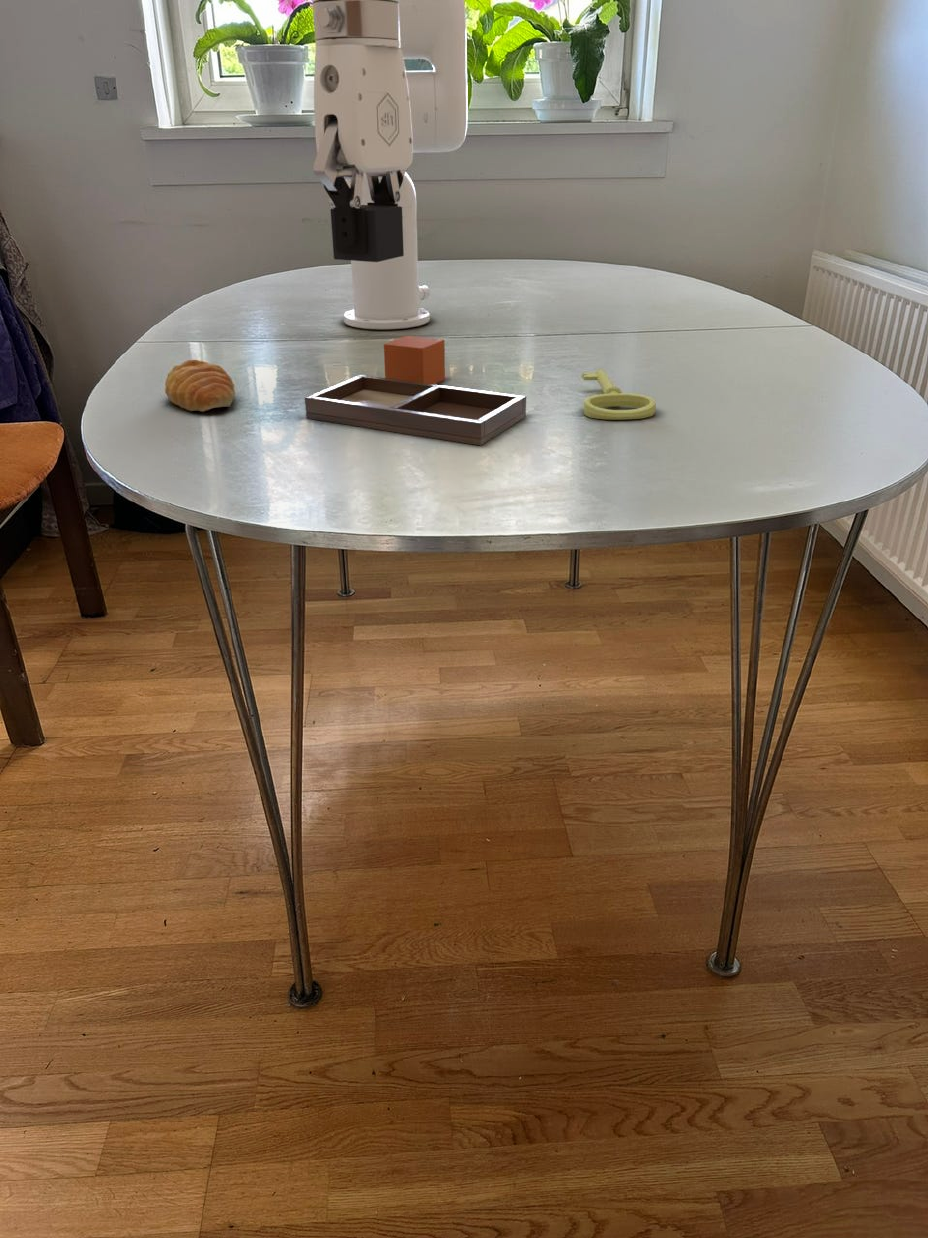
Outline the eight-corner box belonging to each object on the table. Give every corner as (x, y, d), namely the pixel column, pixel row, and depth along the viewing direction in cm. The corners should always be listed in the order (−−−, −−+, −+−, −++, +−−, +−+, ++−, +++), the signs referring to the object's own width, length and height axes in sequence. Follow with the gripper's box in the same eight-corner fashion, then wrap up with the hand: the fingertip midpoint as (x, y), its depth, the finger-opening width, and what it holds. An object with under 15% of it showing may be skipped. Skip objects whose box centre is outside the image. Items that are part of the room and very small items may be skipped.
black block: (361, 253, 93) (358, 204, 90) (404, 255, 91) (402, 206, 88) (333, 259, 89) (329, 208, 87) (377, 262, 87) (374, 210, 85)
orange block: (407, 374, 107) (406, 335, 105) (445, 379, 105) (444, 339, 103) (385, 384, 103) (383, 343, 101) (423, 389, 101) (422, 348, 99)
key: (601, 386, 102) (602, 367, 101) (663, 416, 92) (665, 395, 91) (543, 393, 99) (544, 374, 98) (601, 425, 89) (602, 404, 88)
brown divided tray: (361, 393, 100) (360, 374, 99) (525, 416, 92) (526, 396, 91) (306, 418, 92) (304, 397, 91) (480, 445, 84) (480, 423, 83)
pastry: (251, 409, 95) (246, 372, 93) (186, 419, 92) (180, 381, 90) (222, 389, 102) (217, 354, 100) (161, 398, 99) (155, 362, 97)
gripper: (337, 18, 72) (352, 263, 81) (440, 34, 86) (443, 242, 94) (262, 23, 75) (284, 258, 84) (373, 37, 89) (382, 239, 97)
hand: (368, 247), depth 89 cm, fingers closed on black block, 5 cm apart
